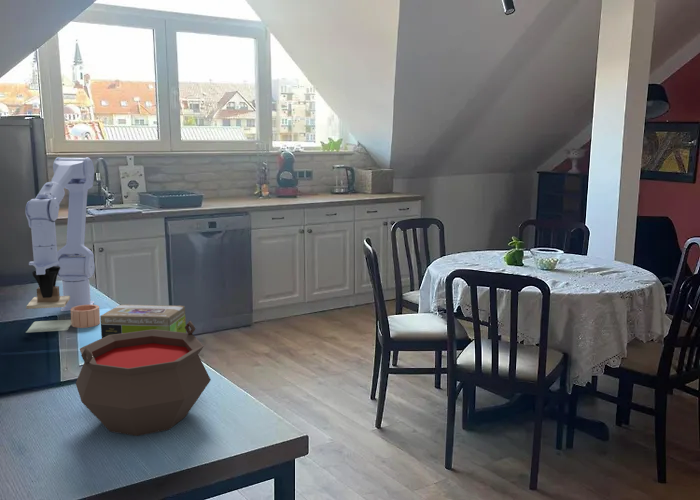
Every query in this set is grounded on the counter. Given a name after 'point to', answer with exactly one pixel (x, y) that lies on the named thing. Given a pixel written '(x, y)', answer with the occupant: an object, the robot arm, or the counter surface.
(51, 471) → the counter surface
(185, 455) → the counter surface
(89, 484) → the counter surface
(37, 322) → the mat
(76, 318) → the cup
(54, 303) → the lid
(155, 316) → the tea box
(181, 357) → the brown cauldron
